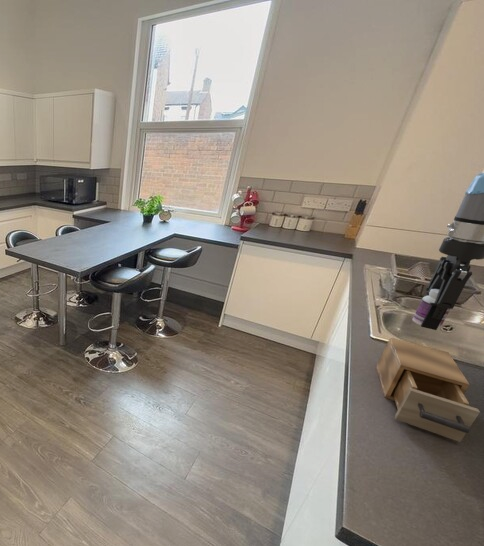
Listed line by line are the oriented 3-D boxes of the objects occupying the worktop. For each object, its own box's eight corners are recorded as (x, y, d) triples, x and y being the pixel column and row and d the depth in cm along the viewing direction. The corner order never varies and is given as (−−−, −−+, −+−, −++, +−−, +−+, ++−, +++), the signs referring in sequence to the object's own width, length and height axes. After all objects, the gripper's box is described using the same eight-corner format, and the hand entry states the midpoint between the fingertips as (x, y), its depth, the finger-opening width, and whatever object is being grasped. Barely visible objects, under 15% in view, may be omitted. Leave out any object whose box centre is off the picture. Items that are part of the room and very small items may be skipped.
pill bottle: (440, 331, 80) (458, 298, 76) (411, 323, 84) (426, 291, 80) (440, 324, 83) (457, 292, 80) (412, 317, 87) (427, 285, 83)
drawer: (467, 457, 66) (489, 426, 63) (399, 431, 72) (415, 402, 69) (440, 402, 81) (457, 375, 77) (385, 385, 86) (398, 359, 83)
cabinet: (448, 418, 77) (469, 384, 73) (384, 397, 83) (400, 364, 79) (430, 383, 89) (448, 352, 85) (375, 367, 95) (389, 337, 91)
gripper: (435, 230, 83) (400, 306, 92) (456, 245, 70) (413, 333, 79) (478, 235, 79) (437, 314, 88) (509, 252, 66) (456, 343, 74)
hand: (425, 323), depth 83 cm, fingers closed on pill bottle, 5 cm apart
